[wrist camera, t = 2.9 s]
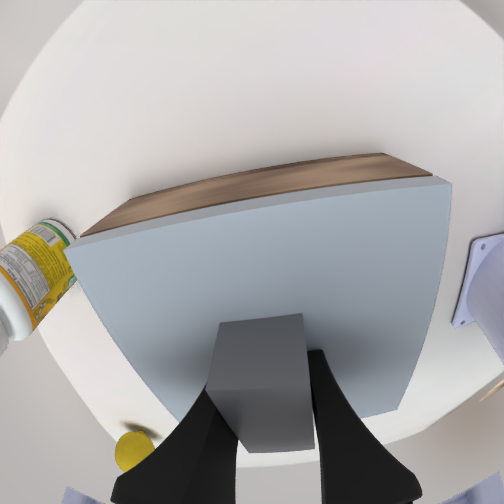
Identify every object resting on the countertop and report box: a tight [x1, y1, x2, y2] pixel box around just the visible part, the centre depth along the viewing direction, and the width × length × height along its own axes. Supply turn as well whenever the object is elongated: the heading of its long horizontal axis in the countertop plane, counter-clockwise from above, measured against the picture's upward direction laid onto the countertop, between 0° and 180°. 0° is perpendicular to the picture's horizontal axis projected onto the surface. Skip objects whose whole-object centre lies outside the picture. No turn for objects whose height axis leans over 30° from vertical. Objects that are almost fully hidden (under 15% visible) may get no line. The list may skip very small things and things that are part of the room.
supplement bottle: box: [0, 220, 77, 356], centre depth 12 cm, size 5×5×10 cm
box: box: [80, 153, 433, 238], centre depth 14 cm, size 14×14×5 cm
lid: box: [63, 176, 452, 453], centre depth 11 cm, size 14×14×6 cm
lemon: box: [115, 430, 155, 472], centre depth 26 cm, size 6×6×8 cm
